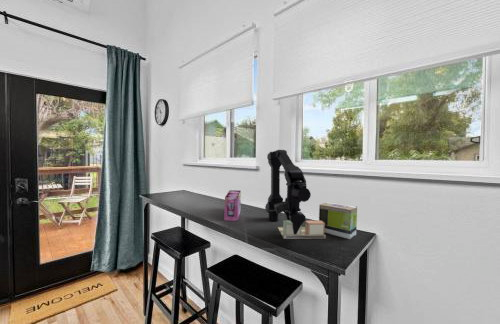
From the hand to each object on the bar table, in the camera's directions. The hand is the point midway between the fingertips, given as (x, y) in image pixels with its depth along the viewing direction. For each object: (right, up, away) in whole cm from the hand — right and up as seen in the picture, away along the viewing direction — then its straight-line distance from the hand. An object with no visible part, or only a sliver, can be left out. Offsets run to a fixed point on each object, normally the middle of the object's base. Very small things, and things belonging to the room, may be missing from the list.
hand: (292, 230), depth 101 cm
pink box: (+10, -3, +1) cm, 11 cm away
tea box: (+23, -5, +6) cm, 24 cm away
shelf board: (+5, -4, +5) cm, 8 cm away
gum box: (-30, -2, +36) cm, 47 cm away
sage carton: (0, -3, 0) cm, 3 cm away
